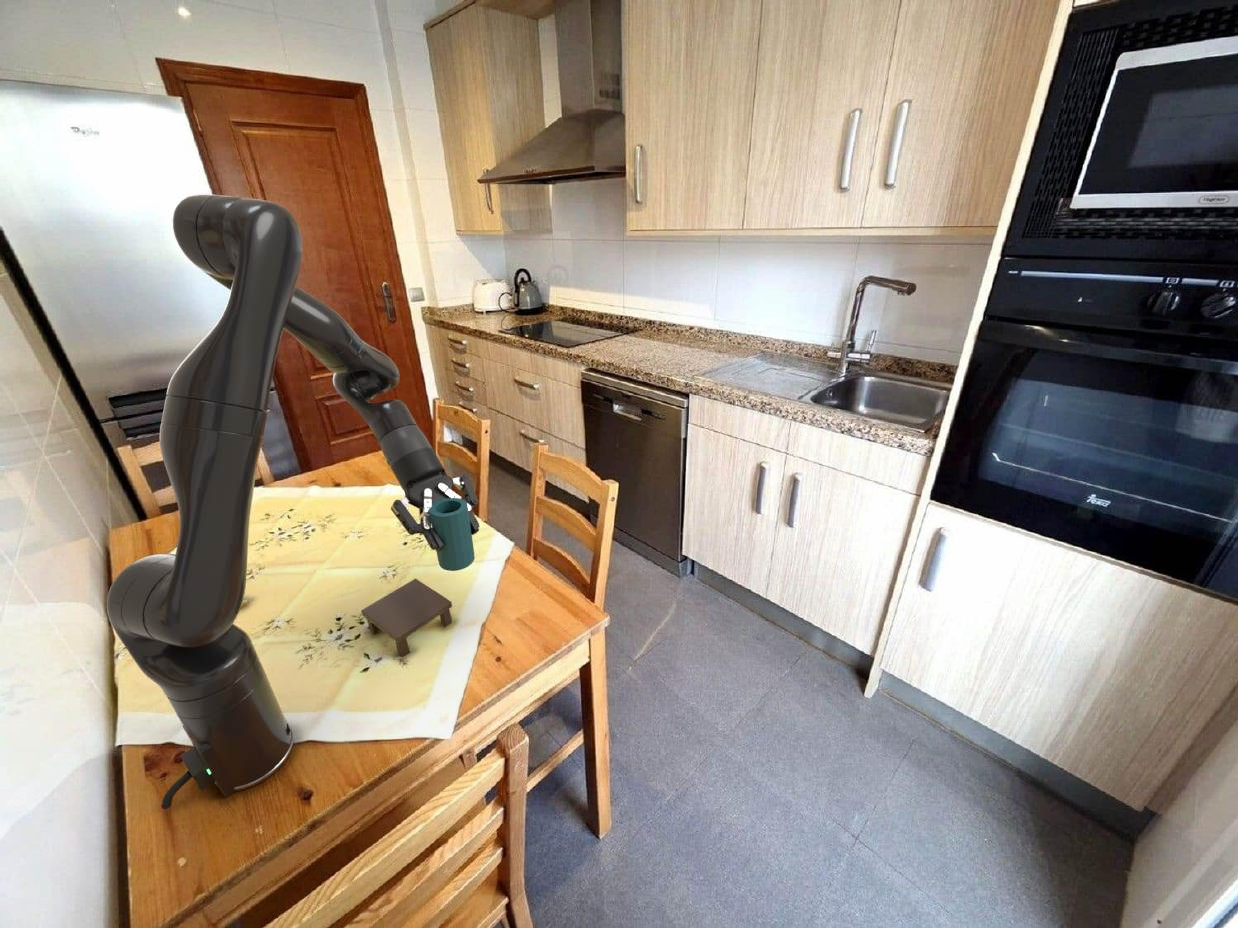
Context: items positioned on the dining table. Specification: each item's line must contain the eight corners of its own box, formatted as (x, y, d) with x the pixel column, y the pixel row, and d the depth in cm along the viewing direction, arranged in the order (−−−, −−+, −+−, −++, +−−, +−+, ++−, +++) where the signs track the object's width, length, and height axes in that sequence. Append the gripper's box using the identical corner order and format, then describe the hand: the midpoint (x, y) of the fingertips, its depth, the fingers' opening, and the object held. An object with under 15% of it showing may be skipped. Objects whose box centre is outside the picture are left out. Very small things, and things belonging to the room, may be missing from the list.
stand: (402, 660, 85) (396, 638, 83) (366, 631, 91) (360, 610, 89) (455, 622, 93) (451, 601, 91) (419, 598, 99) (415, 578, 97)
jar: (453, 575, 84) (444, 520, 79) (431, 562, 88) (421, 508, 83) (481, 558, 89) (474, 504, 84) (460, 546, 92) (452, 493, 87)
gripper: (374, 461, 79) (425, 553, 77) (454, 435, 89) (501, 516, 87) (366, 480, 85) (413, 566, 83) (442, 454, 94) (486, 530, 93)
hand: (458, 540), depth 85 cm, fingers closed on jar, 6 cm apart
